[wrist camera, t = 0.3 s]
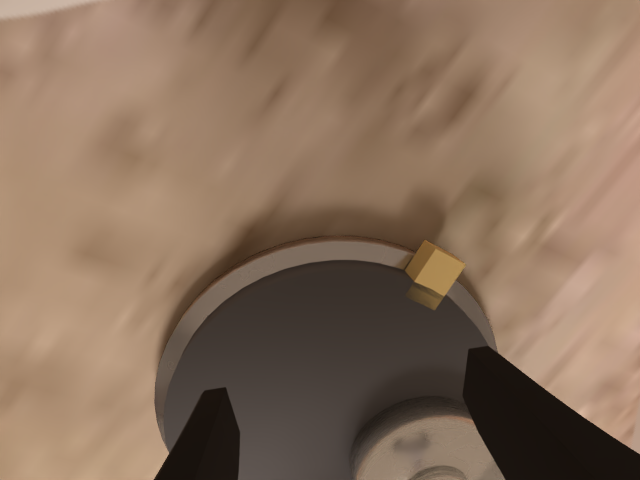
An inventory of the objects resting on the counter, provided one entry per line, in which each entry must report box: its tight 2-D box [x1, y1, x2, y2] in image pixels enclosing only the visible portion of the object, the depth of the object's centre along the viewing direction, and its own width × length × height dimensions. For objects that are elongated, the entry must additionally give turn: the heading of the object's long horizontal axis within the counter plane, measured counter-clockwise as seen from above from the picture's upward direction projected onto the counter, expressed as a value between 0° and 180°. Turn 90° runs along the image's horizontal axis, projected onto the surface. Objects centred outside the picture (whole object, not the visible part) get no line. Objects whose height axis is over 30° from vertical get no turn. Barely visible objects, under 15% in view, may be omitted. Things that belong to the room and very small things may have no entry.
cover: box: [349, 396, 505, 480], centre depth 21 cm, size 9×9×4 cm
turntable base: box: [154, 236, 498, 449], centre depth 23 cm, size 22×22×1 cm
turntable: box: [163, 240, 488, 480], centre depth 21 cm, size 22×20×2 cm
